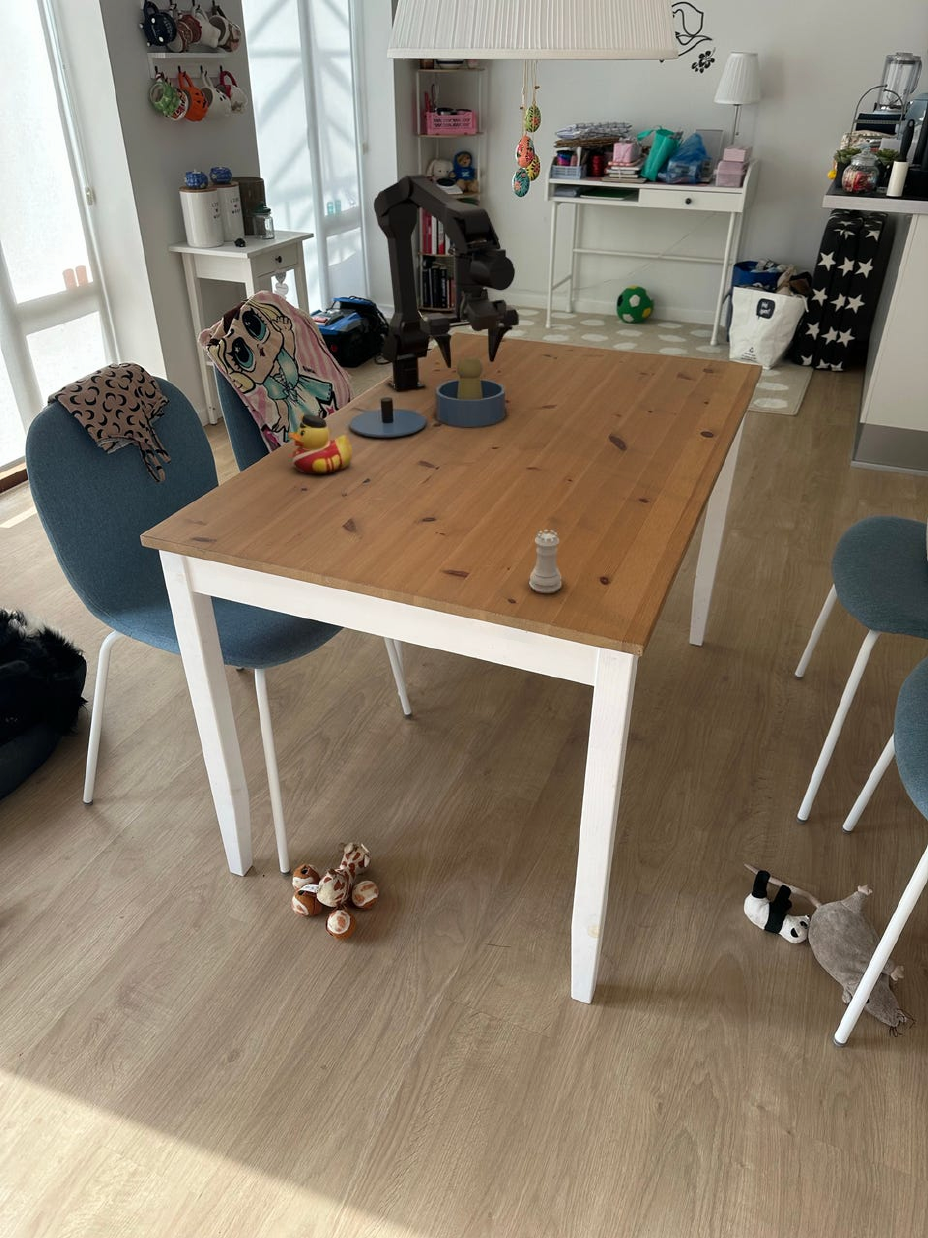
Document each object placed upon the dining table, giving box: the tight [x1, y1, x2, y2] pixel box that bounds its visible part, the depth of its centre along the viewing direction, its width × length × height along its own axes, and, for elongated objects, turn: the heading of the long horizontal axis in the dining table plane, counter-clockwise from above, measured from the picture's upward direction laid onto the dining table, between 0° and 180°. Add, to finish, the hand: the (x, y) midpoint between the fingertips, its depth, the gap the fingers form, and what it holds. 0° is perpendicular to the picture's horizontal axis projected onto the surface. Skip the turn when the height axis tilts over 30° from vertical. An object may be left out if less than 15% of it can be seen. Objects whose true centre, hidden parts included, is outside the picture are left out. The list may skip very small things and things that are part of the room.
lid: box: [349, 396, 427, 438], centre depth 173 cm, size 15×15×6 cm
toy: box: [288, 413, 353, 475], centre depth 154 cm, size 9×11×10 cm
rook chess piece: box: [528, 529, 563, 594], centre depth 118 cm, size 4×4×8 cm
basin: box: [434, 378, 506, 428], centre depth 178 cm, size 14×14×5 cm
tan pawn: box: [456, 357, 484, 400], centre depth 177 cm, size 6×6×11 cm
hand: (470, 364), depth 174 cm, fingers open, 9 cm apart
